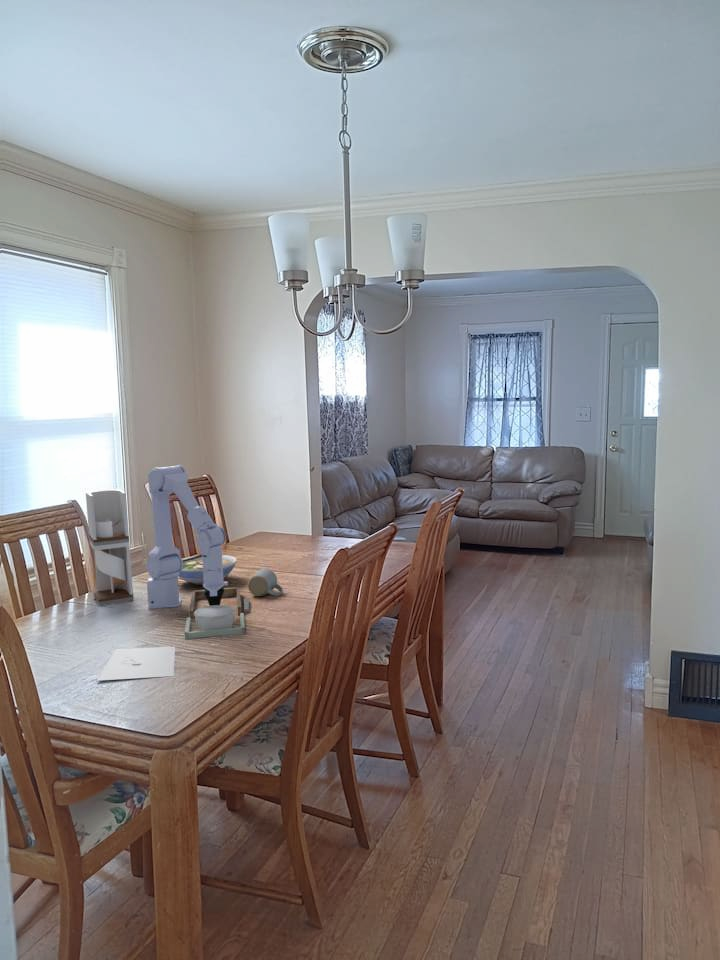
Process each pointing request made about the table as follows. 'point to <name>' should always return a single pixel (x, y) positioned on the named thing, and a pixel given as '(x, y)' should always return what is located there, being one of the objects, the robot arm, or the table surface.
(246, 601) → the grey metal bar
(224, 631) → the sage bay
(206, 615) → the ramekin
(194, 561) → the ramen bowl
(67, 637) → the table surface
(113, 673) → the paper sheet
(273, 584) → the ceramic mug
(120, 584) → the white toy tower
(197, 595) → the brown wooden flat frame
